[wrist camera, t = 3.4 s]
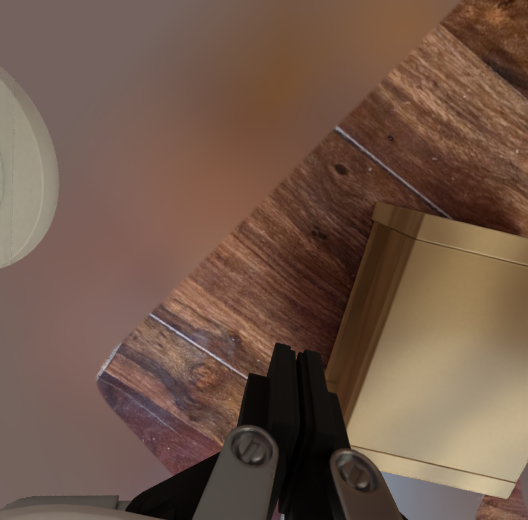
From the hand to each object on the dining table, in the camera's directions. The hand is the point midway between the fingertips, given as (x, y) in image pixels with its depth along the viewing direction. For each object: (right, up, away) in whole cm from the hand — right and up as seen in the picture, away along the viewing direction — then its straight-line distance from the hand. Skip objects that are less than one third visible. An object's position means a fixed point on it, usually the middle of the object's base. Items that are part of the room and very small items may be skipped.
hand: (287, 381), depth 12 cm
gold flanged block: (+10, +1, +11) cm, 15 cm away
